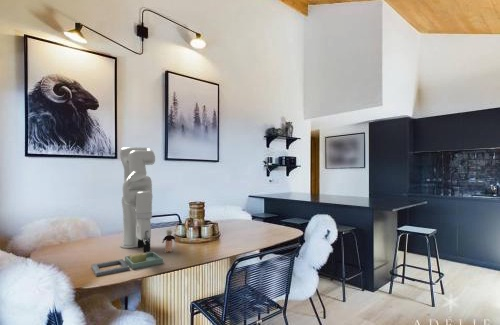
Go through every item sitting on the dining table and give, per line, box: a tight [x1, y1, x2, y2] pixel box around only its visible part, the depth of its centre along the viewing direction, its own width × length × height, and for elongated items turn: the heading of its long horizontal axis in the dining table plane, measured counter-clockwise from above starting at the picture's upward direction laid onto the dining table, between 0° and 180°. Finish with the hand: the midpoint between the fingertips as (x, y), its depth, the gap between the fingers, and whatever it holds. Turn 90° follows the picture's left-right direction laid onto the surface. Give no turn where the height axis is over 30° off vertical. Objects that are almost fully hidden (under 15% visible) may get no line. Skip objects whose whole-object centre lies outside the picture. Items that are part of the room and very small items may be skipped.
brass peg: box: [129, 252, 146, 263], centre depth 148 cm, size 4×4×7 cm
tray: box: [124, 251, 164, 271], centre depth 149 cm, size 15×15×2 cm
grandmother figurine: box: [161, 229, 177, 253], centre depth 168 cm, size 8×4×13 cm, turn 126°
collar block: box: [90, 258, 131, 277], centre depth 140 cm, size 14×14×2 cm
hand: (143, 249), depth 149 cm, fingers open, 9 cm apart
